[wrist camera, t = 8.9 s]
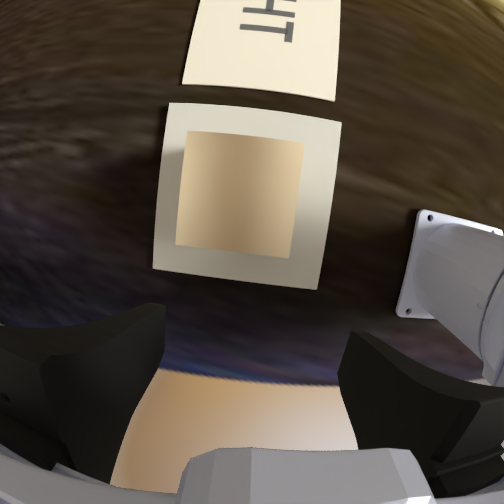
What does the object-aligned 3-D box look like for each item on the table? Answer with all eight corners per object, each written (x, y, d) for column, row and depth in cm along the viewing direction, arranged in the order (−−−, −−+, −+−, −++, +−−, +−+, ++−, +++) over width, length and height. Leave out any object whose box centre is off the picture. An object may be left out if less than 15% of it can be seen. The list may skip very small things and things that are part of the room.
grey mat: (339, 124, 18) (341, 122, 17) (315, 286, 20) (316, 289, 20) (171, 105, 18) (169, 102, 17) (155, 266, 20) (152, 268, 20)
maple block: (289, 155, 18) (304, 143, 12) (279, 235, 19) (288, 258, 13) (209, 146, 18) (187, 130, 12) (200, 225, 19) (175, 244, 13)
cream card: (340, -25, 15) (340, -26, 15) (333, 101, 18) (334, 100, 17) (212, -39, 15) (212, -40, 15) (182, 84, 18) (181, 83, 17)
